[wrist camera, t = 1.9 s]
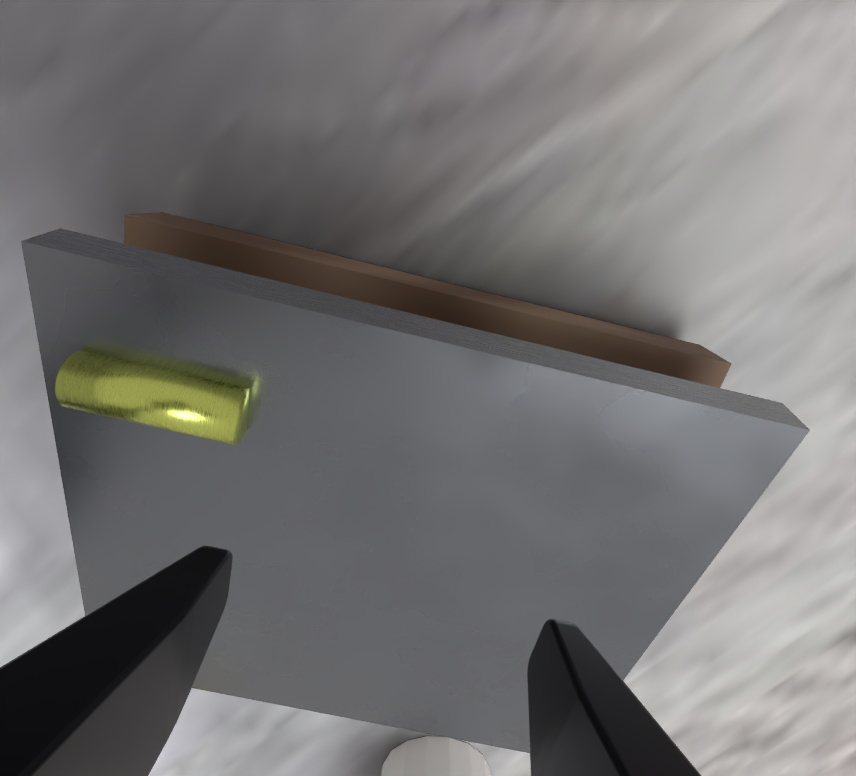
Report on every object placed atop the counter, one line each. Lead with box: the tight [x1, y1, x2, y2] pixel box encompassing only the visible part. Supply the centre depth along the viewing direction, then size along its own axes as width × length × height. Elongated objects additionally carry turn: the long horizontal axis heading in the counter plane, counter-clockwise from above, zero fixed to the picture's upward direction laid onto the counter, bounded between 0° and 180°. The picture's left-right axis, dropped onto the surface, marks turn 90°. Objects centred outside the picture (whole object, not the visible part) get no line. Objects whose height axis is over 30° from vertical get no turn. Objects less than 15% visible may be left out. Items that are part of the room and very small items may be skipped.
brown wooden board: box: [125, 212, 731, 388], centre depth 19 cm, size 18×16×3 cm
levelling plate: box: [21, 229, 810, 753], centre depth 15 cm, size 18×16×2 cm
